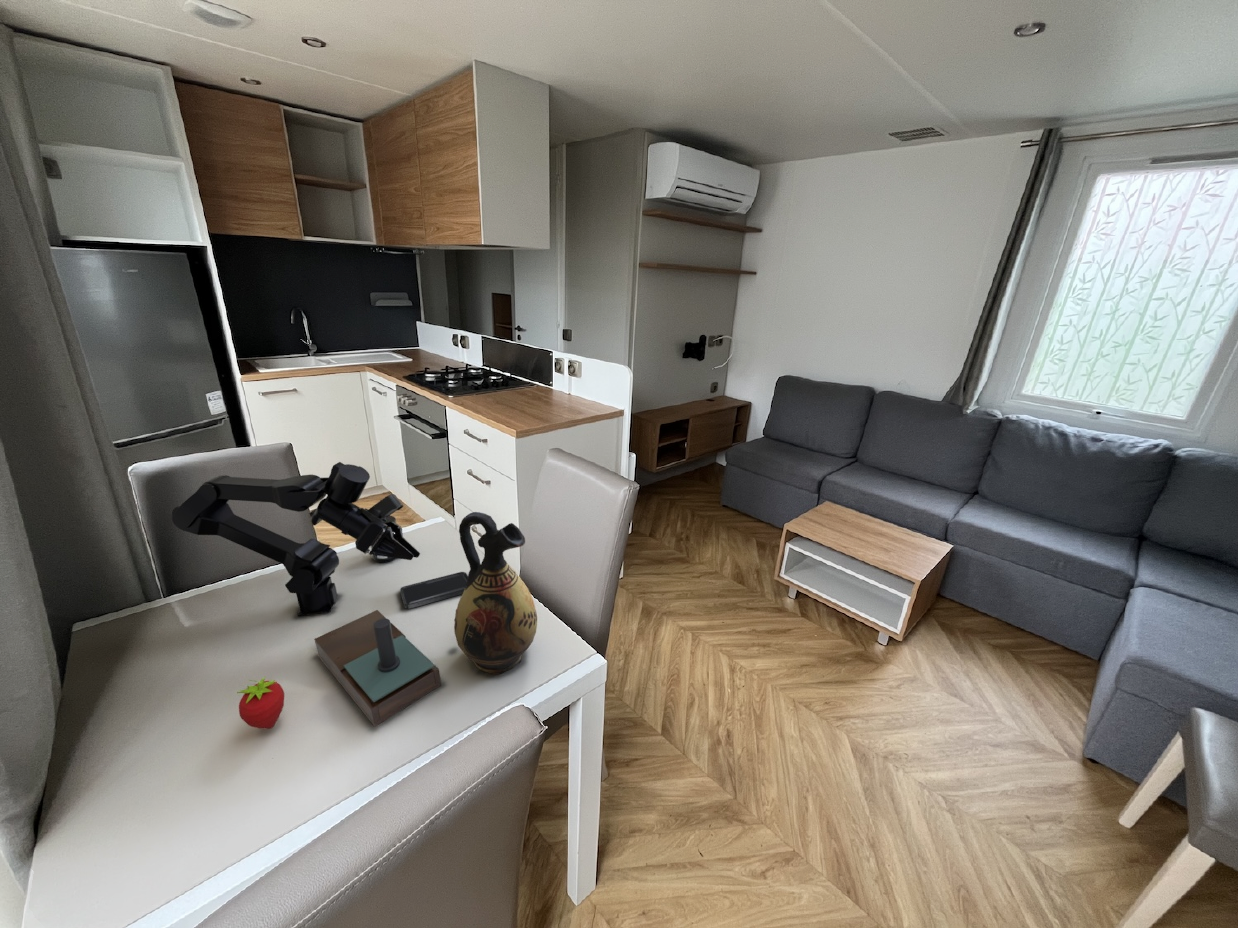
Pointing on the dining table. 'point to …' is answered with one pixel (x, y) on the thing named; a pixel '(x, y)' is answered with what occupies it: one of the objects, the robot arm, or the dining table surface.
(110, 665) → the dining table surface
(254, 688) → the strawberry
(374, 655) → the peg plate
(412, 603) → the phone
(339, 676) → the sliding lid box
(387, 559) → the supplement container
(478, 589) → the ceramic jug
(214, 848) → the dining table surface
